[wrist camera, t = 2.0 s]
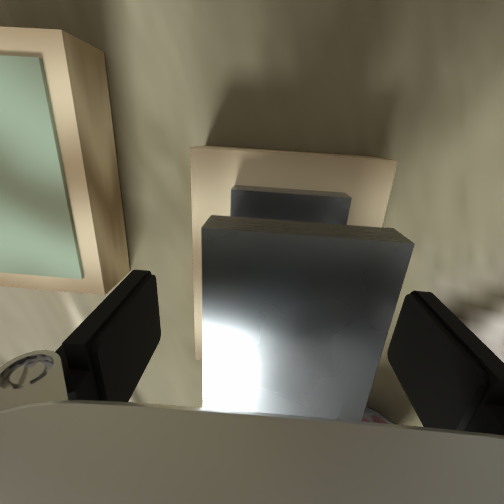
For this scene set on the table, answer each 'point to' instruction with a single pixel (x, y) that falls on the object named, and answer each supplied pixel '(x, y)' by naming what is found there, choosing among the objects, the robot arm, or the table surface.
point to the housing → (296, 303)
